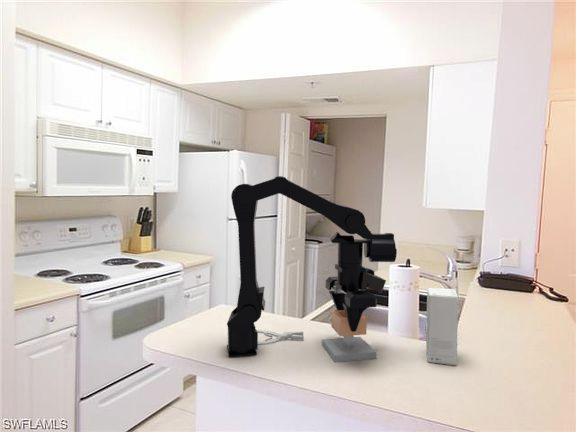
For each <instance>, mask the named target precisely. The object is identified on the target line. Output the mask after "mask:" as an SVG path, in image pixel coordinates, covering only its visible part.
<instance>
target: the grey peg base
mask: <svg viewBox="0 0 576 432" xmlns="http://www.w3.org/2000/svg"><path fill="white" fill-rule="evenodd" d="M321 346H322V347H323V348H324V350H325V351H326V352H327V354H328V355H329V356H330V358H331V360H333V361H334V363H340V362H351V361H361V360H362V361H363V360H375V359H377V354H378V353H377V351H376V350H375V349H374V348H373V347H372V346H371V345H370V344H368V343H367V342H366V340H364V339H363V338H362V337H361V336H355V335H352V336H342V337H338V338H337V337H335V338H323V339H322V340H321Z"/></svg>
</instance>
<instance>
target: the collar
mask: <svg viewBox="0 0 576 432" xmlns="http://www.w3.org/2000/svg"><path fill="white" fill-rule="evenodd" d="M367 319H368V317H367V316H365V315H364V314H363V313H362V316H361V318H360V321H359V324H358V327H357V330H356V331H355V332H352V331H351V329H350V326H349V323H348V320H347V316H346V313H345V310H331V327H330V328H332V329H333V330H334V332H335V333H336V334H337V335H338V336H339V337H343V336H352V335H354V336H360V335H361V336H364V335H367V328H368V327H367V322H368V321H367Z"/></svg>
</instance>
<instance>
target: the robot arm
mask: <svg viewBox="0 0 576 432" xmlns="http://www.w3.org/2000/svg"><path fill="white" fill-rule="evenodd" d="M278 194H280V195H282V196H284V197H286V198H287V199H290V200H292V201H295V202H296V203H298V204H300V205H302V206H303V207H306V208H308V209H310V210H312V211H314V212H316V213H318V214H320V215H322V216H324V217H325V218H327V219H328V220H329V221H331V222H332V223H333V224H334V225H336V226H337V227H338V228H340V229H341V230H342V231H343V232H345V233H346V234H349V235H346V234H345V235H342V234H340V232H338V231H336V232H335V234H334V235H333V236H332V237H329V241H330V242H331V243H332V244H337V263H335V264H334V269H336V270H337V275H336V276H328V278H327V279H325V288H326V289H327V290H328V294H329V295H330V297H331V300H332V301H333V302H332V303H333V304H334V307H335V309H336V310H335V311H337V310H345V313H346V316H347V320H348V323H349V326H350V329H351V331H352V332H355V331H356V330H357V327H358V324H359V321H360V318H361V316H362V314H363V312H364V311H365V310H367V309H368V308H376V307H377V306H378V297H377V296H376V295H375V294H374V293H372V292H370V291H369V290H367V289H371V290H374V291H376V292H377V293H380V294H382V293H383V291H384V289H385V284H386V282H387V280H386V279H384V278H382V277H380V276H378V275H376V274H375V270H373V269H371V268H368V267H365V266H363V255H364V258H367V259H368V261H369V262H371V263H395V261H396V259H397V254H398V253H397V251H398V250H397V246H396V240H395V233H391V232H385V233H372V231H371V230H370V229H369V228H368V226H367V225H366V217H365V214H363V212H361V211H360V209H359V210H358V209H355V208H352V207H349V206H346V205H343V204H341V203H336V202H333V201H331V200H328V199H326V198H324V197H322V196H320V195H318V194H316V193H315V192H312V191H310V190H308V189H306V188H304V187H303V186H301V185H298V184H297V183H295V182H293V181H291V180H290V179H289V180H288V179H287V178H286V177H285V176H283V175H277V176H275V177H273V178H272V179H269V180H265V181H263V182H260V183H256V184H254V185H252V184H251V183H242V184H238V185H237V186H235V187H234V188H233V190H232V191H231V196H230V198H231V203H232V207H233V212H234V215H235V219H236V222H237V229H238V231H237V232H238V250H239V252H238V253H239V275H240V276H239V277H240V285H239V292H238V297H237V302H236V303H237V305H236V307H235V308H234V309H233V310H232V311H231V312H230V315H229V317H228V320H227V323H226V326H227V344H226V349H227V354H228V357H229V358H233V357H236V358H237V357H244V356H245V357H246V356H247V357H248V356H256V355H257V353H258V352H257V350H258V347H259V345H258V342H259V340H258V339H259V338H258V337H259V333H258V332H257V330H258V329H256V325H255V323H256V322H258V321H259V320H260V318H261V316H262V311H265V308H266V307H265V306H266V300H265V297H264V294H265V286H261V287H260V285H259V283H258V277H257V252H256V250H257V249H256V227H255V222H256V215H257V210H258V203H259V201H260V200H263V199H266V198H269V197H270V198H271V197H273V196H275V195H278ZM354 235H358V236H359V237H361V238H362V239H359V238H358V239H357V238H354Z"/></svg>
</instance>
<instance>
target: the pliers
mask: <svg viewBox="0 0 576 432" xmlns="http://www.w3.org/2000/svg"><path fill="white" fill-rule="evenodd" d="M256 330H257V332H258V334H263V335H265V336H266V337H269V338H265V339H264V340H261V341H258V346H265V345H266V346H267V345H272V344H275V343H279V342H284V341H290V342H292V341H294V342H296V341H297V342H298V341H299V342H303V341H304V338H305V336H304V331H301V330H300V331H299V330H297V331H284V332H283V333H282V334H281V333H278V332H276V331H271V330H263V329H256ZM273 337H275V338H273Z"/></svg>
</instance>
